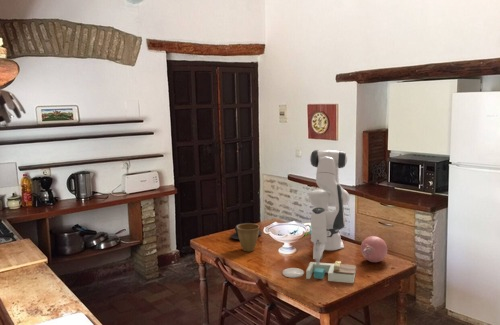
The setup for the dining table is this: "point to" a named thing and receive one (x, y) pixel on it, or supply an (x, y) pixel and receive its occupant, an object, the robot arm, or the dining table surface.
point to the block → (319, 273)
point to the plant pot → (248, 236)
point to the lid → (343, 268)
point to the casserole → (237, 232)
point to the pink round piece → (374, 249)
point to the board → (330, 272)
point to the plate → (293, 272)
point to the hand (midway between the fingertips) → (319, 261)
